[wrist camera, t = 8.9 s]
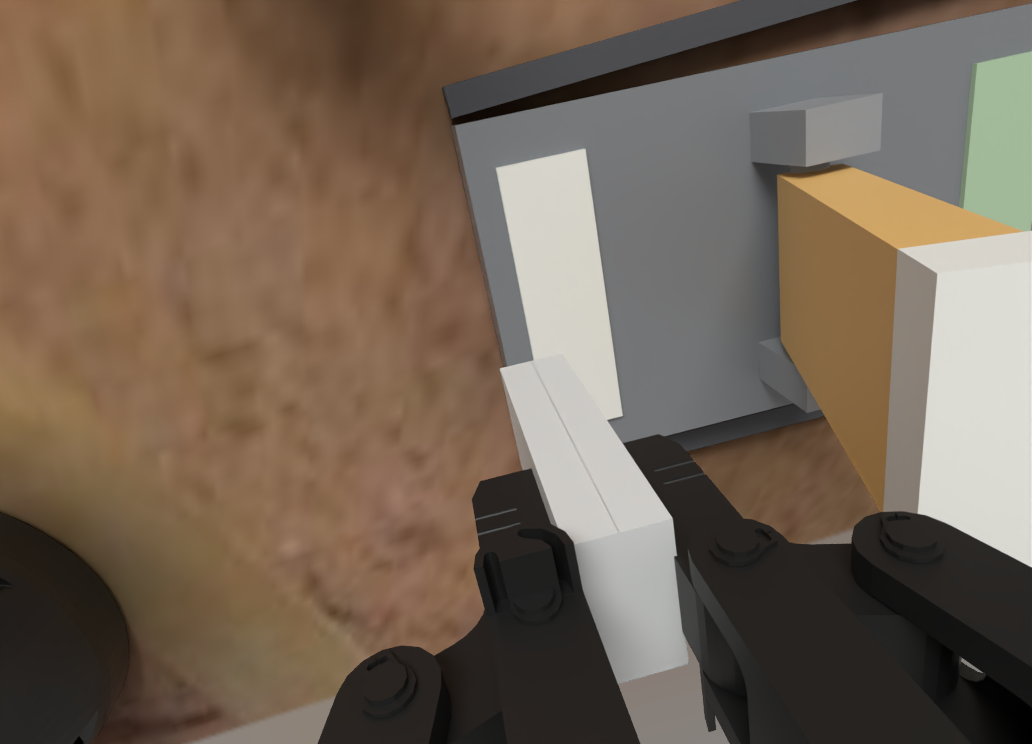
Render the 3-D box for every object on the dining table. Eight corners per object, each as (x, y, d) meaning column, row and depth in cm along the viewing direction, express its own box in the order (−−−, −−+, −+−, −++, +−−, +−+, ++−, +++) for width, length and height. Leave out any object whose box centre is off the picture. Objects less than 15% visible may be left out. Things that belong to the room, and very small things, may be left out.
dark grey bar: (450, 118, 21) (452, 118, 21) (441, 88, 21) (443, 86, 20) (1024, -49, 22) (1049, -57, 22) (1025, -81, 22) (1052, -90, 21)
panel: (519, 441, 27) (545, 517, 21) (450, 125, 22) (462, 124, 16) (980, 325, 28) (1110, 369, 23) (1017, 6, 23) (1194, -31, 18)
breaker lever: (775, 339, 23) (912, 580, 12) (771, 166, 21) (938, 264, 10) (836, 333, 23) (1036, 577, 12) (838, 154, 20) (1098, 243, 9)
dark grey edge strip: (528, 479, 27) (531, 491, 26) (523, 460, 27) (527, 472, 26) (976, 364, 29) (994, 372, 28) (978, 345, 29) (997, 352, 28)
